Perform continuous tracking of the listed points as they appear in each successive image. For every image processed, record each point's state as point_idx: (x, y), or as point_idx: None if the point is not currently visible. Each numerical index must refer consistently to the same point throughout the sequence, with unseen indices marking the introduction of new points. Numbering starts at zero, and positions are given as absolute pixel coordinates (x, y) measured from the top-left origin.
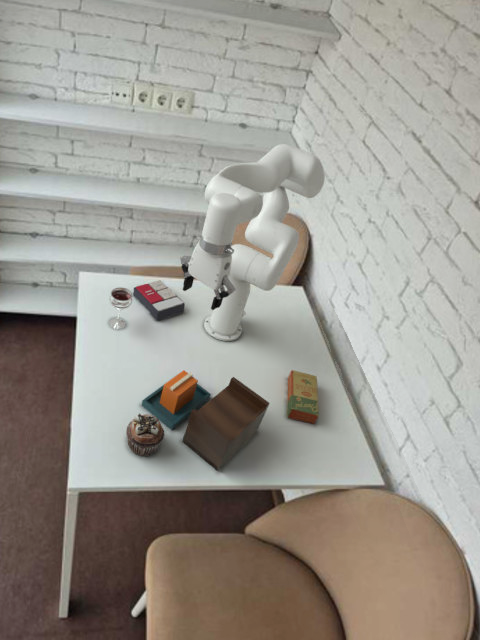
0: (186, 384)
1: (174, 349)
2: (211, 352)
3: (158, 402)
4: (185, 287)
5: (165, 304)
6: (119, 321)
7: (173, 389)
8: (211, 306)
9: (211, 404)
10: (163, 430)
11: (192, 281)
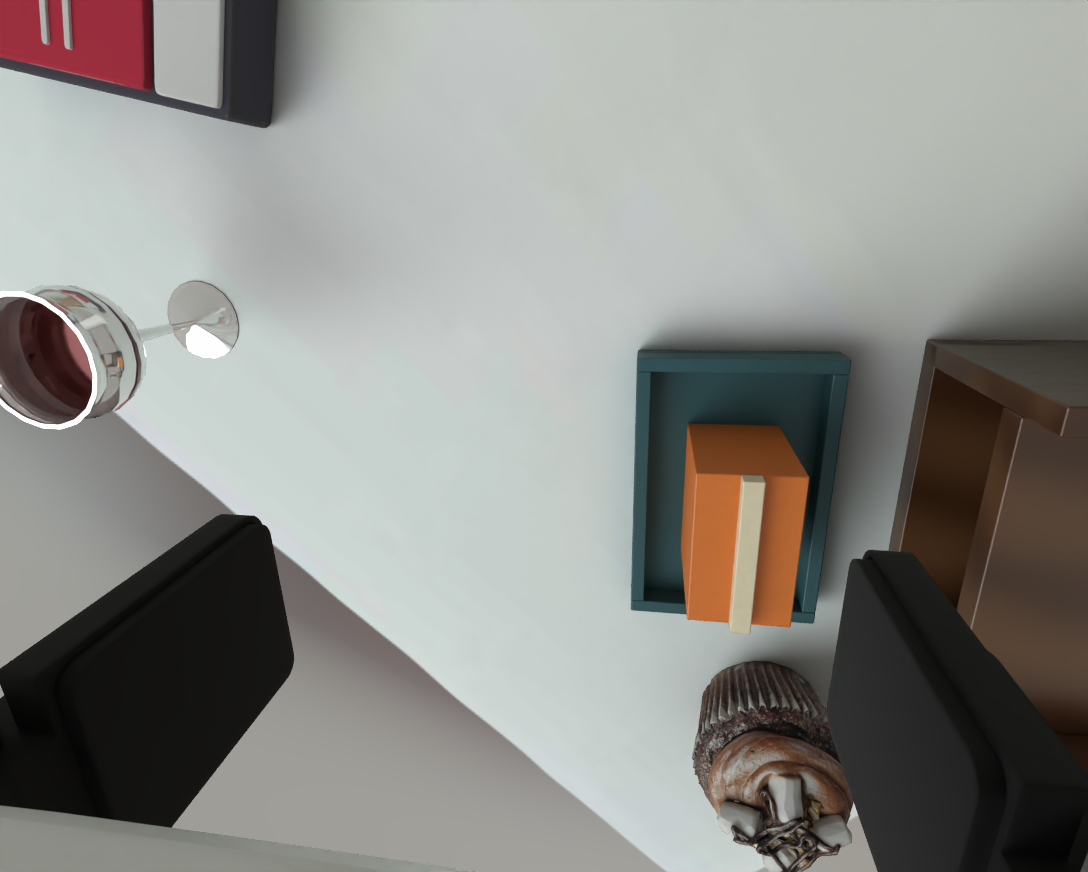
0: (775, 543)
1: (487, 221)
2: (639, 43)
3: (675, 548)
4: (251, 720)
5: (187, 15)
6: (195, 313)
7: (750, 626)
8: (844, 763)
9: (1002, 610)
10: (826, 729)
11: (181, 612)
